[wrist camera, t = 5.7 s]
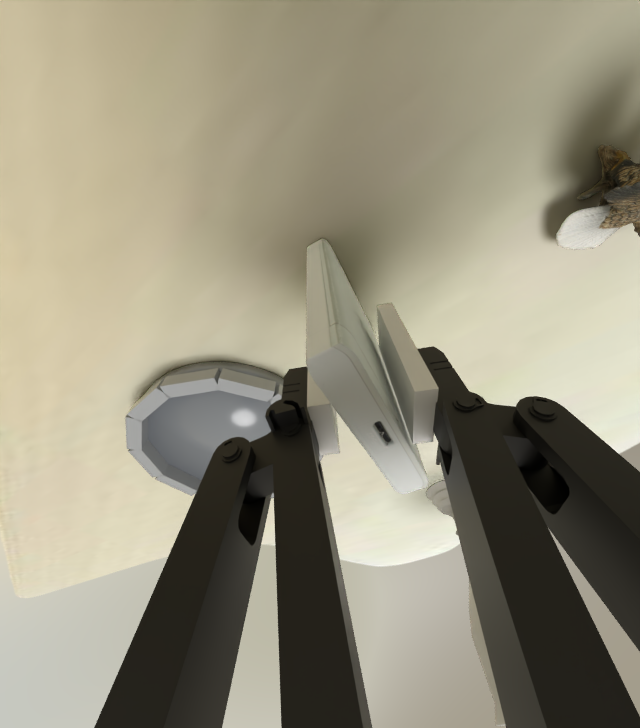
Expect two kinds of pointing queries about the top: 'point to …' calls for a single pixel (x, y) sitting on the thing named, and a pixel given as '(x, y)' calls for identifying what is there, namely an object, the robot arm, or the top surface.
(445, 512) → the chalice
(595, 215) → the eagle figurine
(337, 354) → the external hard drive
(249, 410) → the dish
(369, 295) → the top surface
